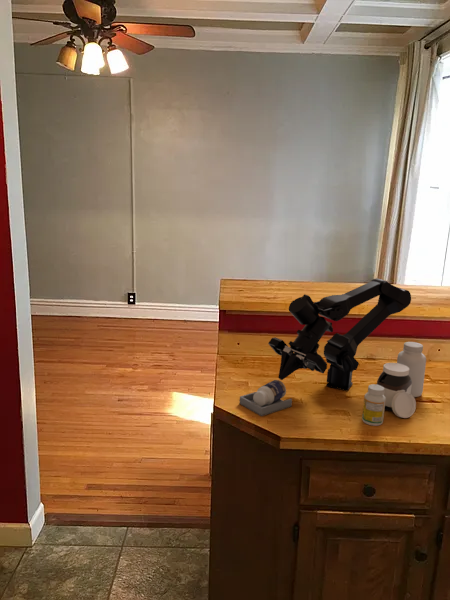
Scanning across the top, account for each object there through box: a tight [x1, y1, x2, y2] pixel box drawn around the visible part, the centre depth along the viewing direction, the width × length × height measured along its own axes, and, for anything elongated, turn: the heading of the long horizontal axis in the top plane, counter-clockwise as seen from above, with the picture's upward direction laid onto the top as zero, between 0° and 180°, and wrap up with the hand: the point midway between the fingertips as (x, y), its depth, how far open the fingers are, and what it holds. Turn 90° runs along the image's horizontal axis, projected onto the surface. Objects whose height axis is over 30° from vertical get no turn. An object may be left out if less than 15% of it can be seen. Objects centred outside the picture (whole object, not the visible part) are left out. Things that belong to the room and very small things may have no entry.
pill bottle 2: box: [396, 341, 427, 398], centre depth 158 cm, size 8×8×15 cm
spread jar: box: [376, 362, 417, 419], centre depth 147 cm, size 12×11×12 cm
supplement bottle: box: [361, 383, 386, 426], centre depth 139 cm, size 5×5×10 cm
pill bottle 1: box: [253, 379, 287, 406], centre depth 147 cm, size 5×5×10 cm
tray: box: [239, 391, 293, 417], centre depth 147 cm, size 11×9×2 cm
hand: (280, 378), depth 149 cm, fingers closed
